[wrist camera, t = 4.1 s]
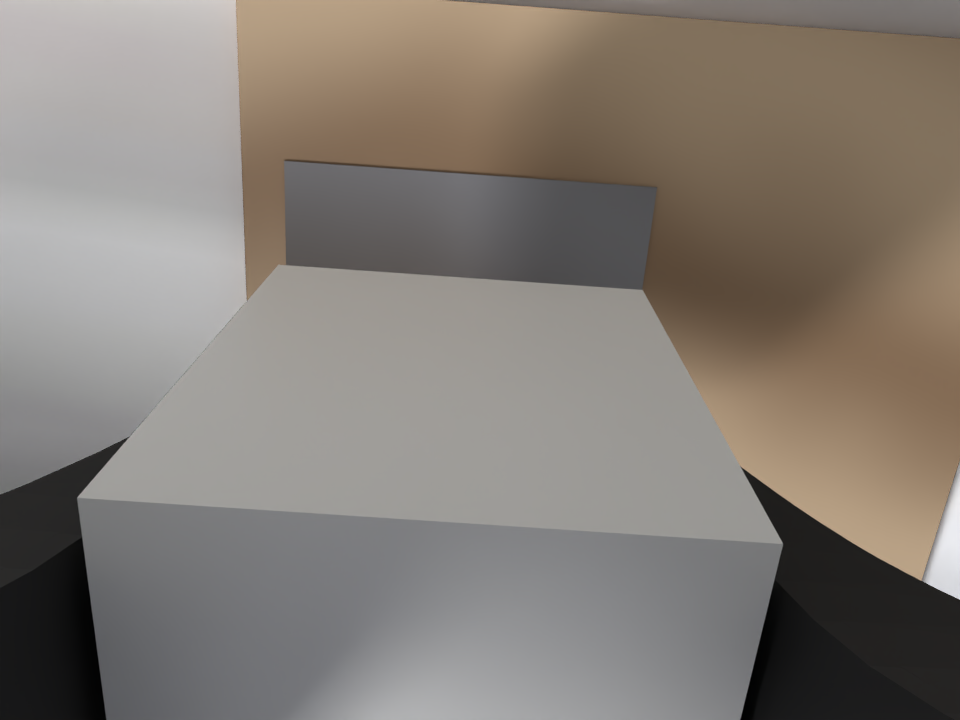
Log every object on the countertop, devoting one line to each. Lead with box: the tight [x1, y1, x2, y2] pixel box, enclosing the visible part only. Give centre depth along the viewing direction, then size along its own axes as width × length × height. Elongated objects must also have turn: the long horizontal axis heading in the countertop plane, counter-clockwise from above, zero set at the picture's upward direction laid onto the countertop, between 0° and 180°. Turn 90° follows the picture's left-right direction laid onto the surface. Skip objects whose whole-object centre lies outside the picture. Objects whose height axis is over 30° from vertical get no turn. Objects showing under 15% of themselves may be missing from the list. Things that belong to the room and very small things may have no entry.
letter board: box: [236, 0, 960, 580], centre depth 18 cm, size 23×14×1 cm, turn 176°
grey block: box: [77, 265, 783, 720], centre depth 10 cm, size 5×5×6 cm
